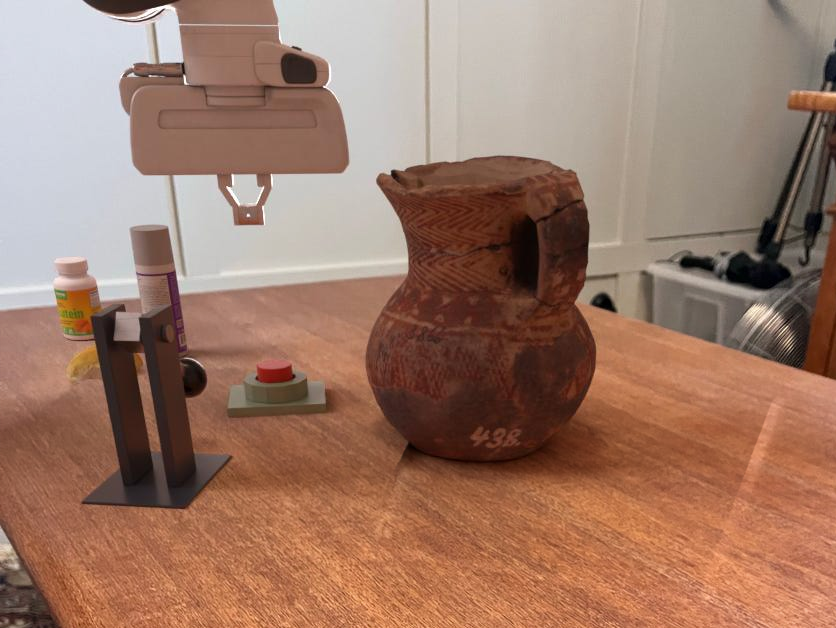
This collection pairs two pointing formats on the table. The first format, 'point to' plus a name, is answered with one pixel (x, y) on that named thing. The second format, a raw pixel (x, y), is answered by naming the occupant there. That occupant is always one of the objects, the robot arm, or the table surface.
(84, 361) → the yellow curved piece
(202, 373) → the ball knob lever
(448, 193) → the jug
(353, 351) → the table surface
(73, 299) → the supplement bottle
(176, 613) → the table surface
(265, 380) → the button
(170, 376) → the dark wooden stand
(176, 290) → the container
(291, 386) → the switch box
